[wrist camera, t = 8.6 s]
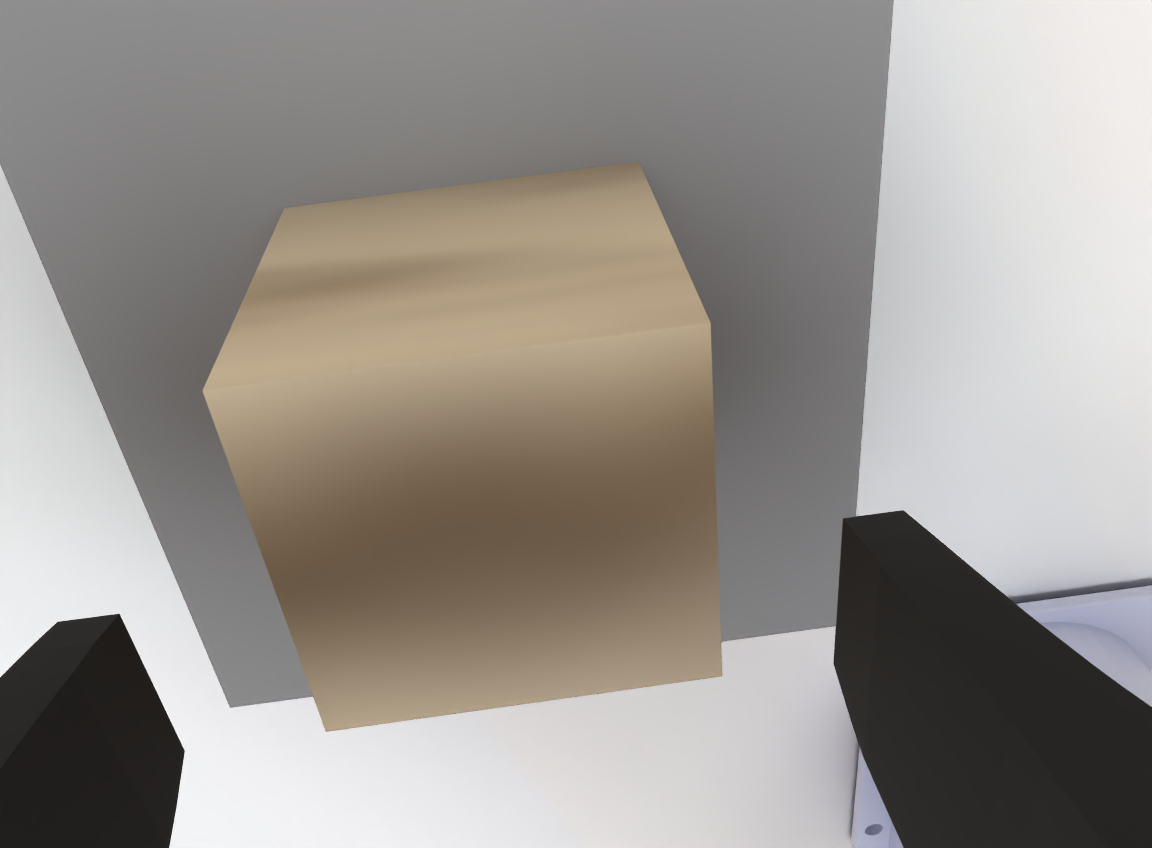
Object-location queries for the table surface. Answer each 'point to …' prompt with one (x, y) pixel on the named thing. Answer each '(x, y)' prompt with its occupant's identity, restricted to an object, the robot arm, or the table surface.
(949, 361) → the table surface
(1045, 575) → the table surface
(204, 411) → the flat grey base plate
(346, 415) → the birch cube
